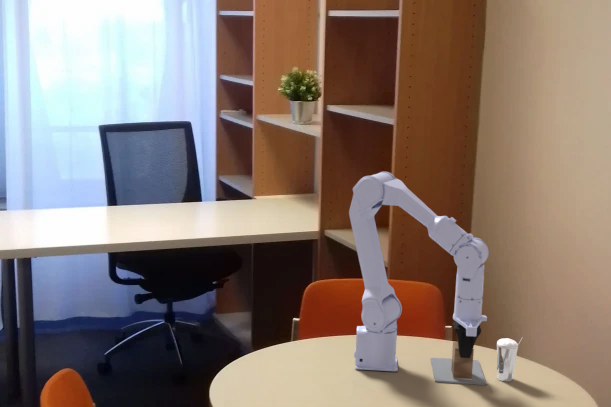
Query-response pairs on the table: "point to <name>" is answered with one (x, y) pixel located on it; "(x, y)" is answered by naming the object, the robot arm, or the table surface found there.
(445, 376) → the mat
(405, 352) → the table surface
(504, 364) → the milkshake
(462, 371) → the walnut block
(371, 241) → the robot arm
